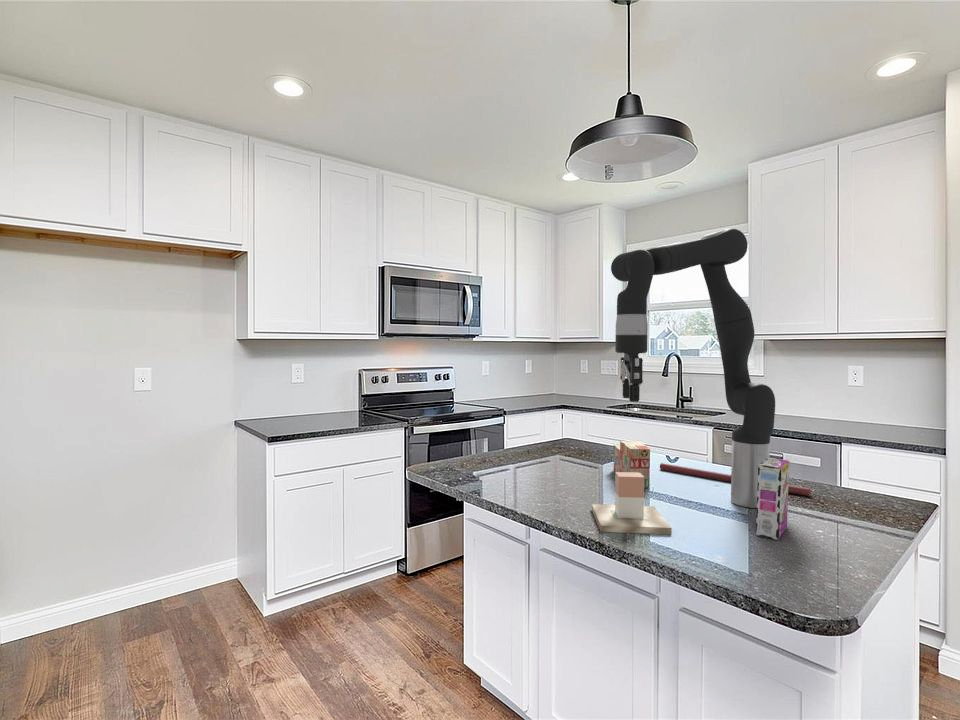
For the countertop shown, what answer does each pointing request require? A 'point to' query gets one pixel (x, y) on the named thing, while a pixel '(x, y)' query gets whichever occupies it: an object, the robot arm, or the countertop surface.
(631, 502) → the cream brick
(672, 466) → the rolling pin
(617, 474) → the terracotta brick
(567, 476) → the countertop surface
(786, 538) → the countertop surface
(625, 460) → the stack of blocks
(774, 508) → the candy bar box
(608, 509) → the ash board
